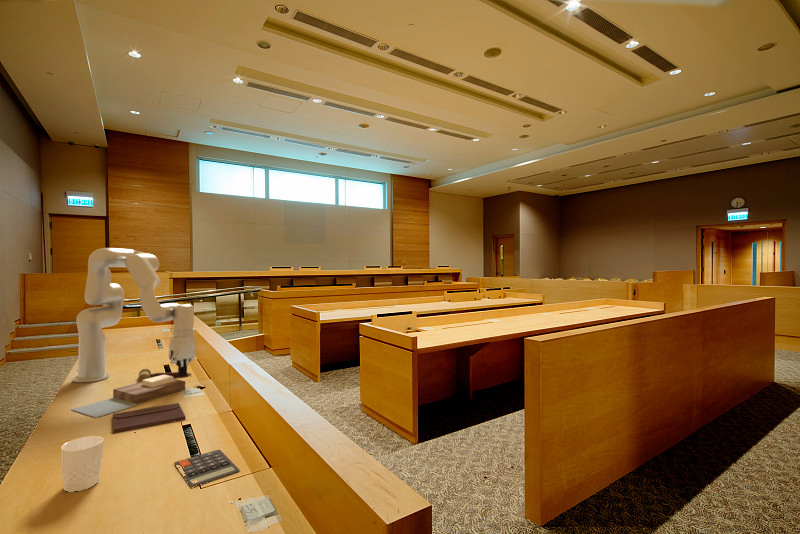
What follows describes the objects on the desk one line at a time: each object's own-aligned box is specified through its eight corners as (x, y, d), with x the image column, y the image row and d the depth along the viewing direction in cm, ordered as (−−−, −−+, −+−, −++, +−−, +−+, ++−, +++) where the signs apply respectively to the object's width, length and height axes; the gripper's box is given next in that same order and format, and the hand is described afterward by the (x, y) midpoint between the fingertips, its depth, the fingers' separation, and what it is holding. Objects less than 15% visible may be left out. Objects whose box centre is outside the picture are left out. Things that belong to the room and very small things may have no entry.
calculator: (219, 448, 112) (240, 469, 101) (219, 451, 112) (240, 473, 101) (173, 461, 104) (191, 485, 93) (173, 465, 104) (190, 489, 93)
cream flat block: (142, 384, 157) (142, 379, 157) (163, 379, 166) (163, 374, 166) (151, 387, 155) (151, 382, 155) (173, 381, 163) (173, 376, 163)
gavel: (191, 366, 188) (192, 372, 180) (190, 376, 188) (191, 382, 179) (139, 368, 178) (138, 374, 169) (138, 378, 177) (136, 384, 169)
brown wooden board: (113, 398, 151) (113, 389, 151) (163, 384, 170) (163, 376, 170) (135, 404, 146) (136, 395, 146) (185, 389, 164) (185, 381, 164)
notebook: (185, 421, 133) (185, 415, 133) (113, 435, 121) (113, 428, 121) (178, 407, 145) (178, 402, 145) (112, 419, 133) (112, 413, 133)
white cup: (76, 476, 97) (77, 435, 97) (110, 475, 98) (111, 435, 98) (50, 494, 89) (52, 451, 89) (87, 494, 90) (88, 450, 90)
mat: (71, 410, 138) (71, 409, 138) (113, 398, 151) (113, 397, 151) (95, 418, 132) (95, 417, 132) (138, 405, 145) (138, 404, 145)
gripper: (193, 329, 178) (192, 370, 178) (161, 334, 165) (160, 378, 165) (204, 331, 175) (203, 372, 175) (173, 336, 162) (172, 380, 162)
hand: (182, 375), depth 170 cm, fingers closed
